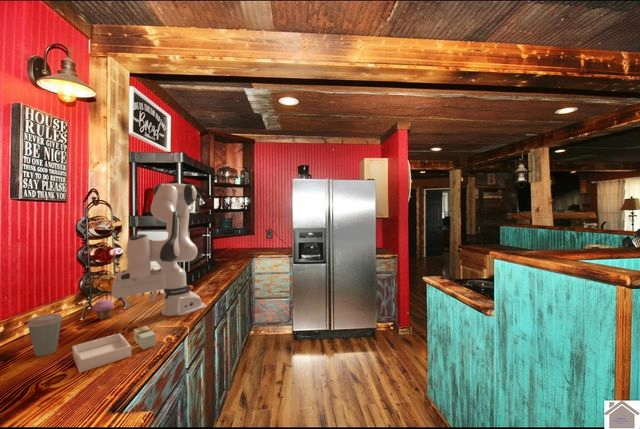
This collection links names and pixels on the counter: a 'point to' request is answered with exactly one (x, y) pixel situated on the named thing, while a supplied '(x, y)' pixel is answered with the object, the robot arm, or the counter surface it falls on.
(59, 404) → the counter surface
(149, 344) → the sage block
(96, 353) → the tray
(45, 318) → the disposable coffee cup
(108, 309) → the cupcake
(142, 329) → the maple block
